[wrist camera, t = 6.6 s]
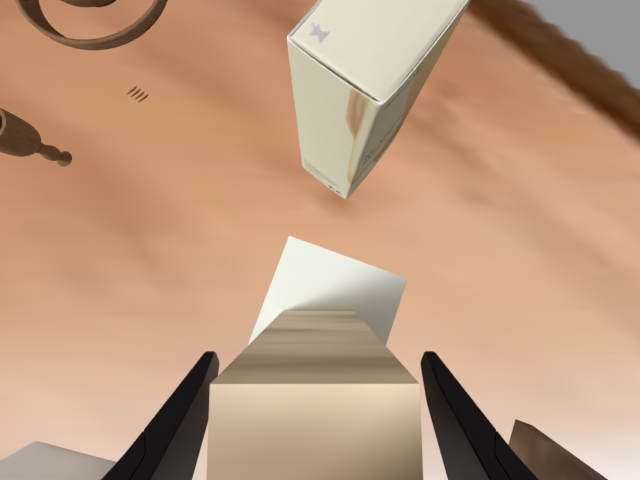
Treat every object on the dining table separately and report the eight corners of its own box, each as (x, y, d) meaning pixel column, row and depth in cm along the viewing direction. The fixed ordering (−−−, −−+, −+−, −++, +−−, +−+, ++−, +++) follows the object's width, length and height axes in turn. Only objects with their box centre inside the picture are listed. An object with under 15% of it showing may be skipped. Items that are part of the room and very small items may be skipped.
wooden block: (355, 385, 21) (430, 621, 7) (281, 385, 21) (201, 621, 7) (354, 310, 21) (422, 384, 7) (282, 310, 21) (210, 384, 7)
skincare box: (346, 202, 22) (378, 116, 10) (300, 167, 22) (276, 42, 10) (398, 136, 23) (488, -21, 11) (352, 103, 23) (388, -88, 11)
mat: (365, 402, 21) (366, 404, 20) (243, 356, 21) (243, 357, 21) (407, 278, 22) (407, 278, 21) (289, 235, 22) (289, 235, 22)
